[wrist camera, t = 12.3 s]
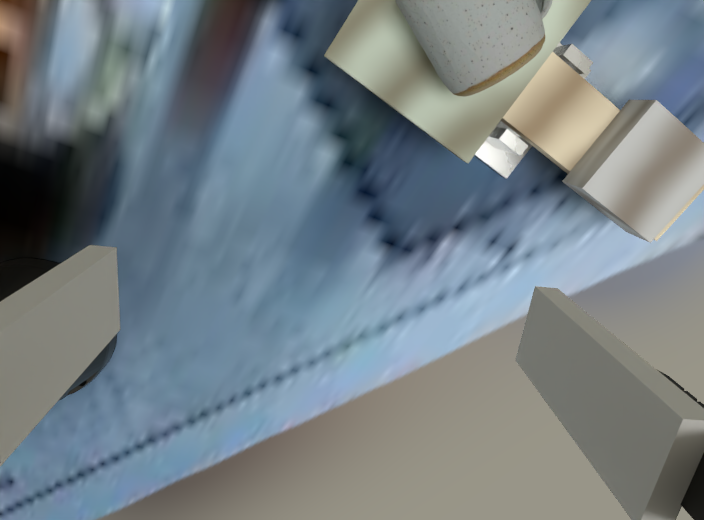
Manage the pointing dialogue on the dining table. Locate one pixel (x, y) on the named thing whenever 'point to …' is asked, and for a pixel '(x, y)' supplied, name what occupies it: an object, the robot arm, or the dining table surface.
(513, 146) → the stand
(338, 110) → the dining table surface
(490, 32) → the ceramic mug
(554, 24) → the balance beam
